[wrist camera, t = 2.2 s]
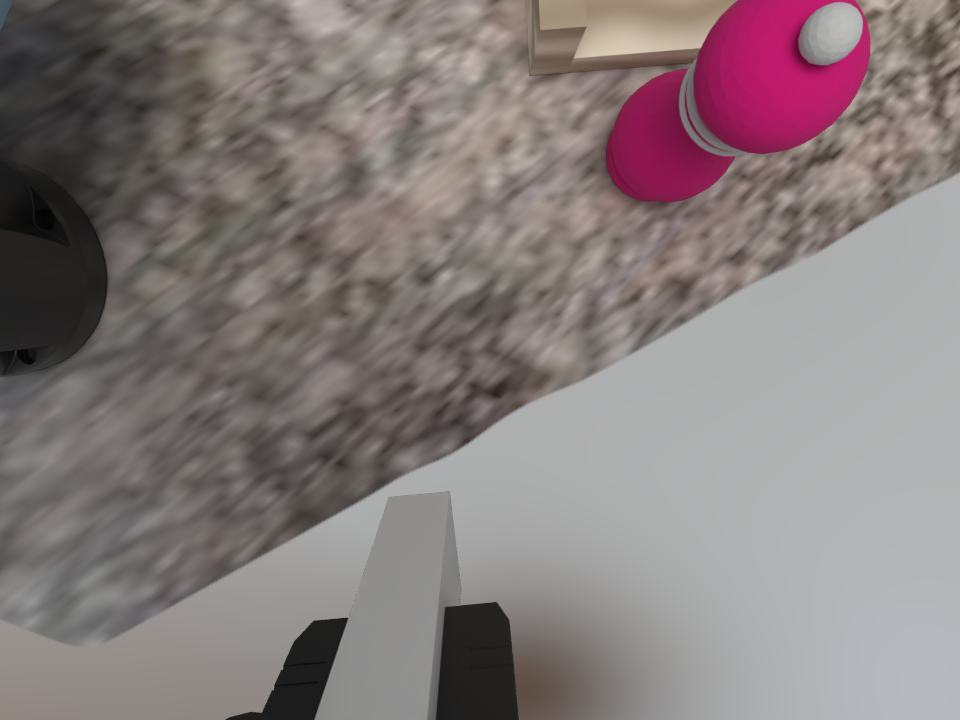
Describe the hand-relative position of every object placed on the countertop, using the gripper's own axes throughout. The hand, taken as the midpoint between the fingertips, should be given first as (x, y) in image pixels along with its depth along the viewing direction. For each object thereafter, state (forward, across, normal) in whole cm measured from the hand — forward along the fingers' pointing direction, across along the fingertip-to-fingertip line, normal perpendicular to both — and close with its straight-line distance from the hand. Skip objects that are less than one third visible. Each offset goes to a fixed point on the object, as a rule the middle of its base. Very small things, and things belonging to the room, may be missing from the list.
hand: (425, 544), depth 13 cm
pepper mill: (+27, +14, +12) cm, 33 cm away
